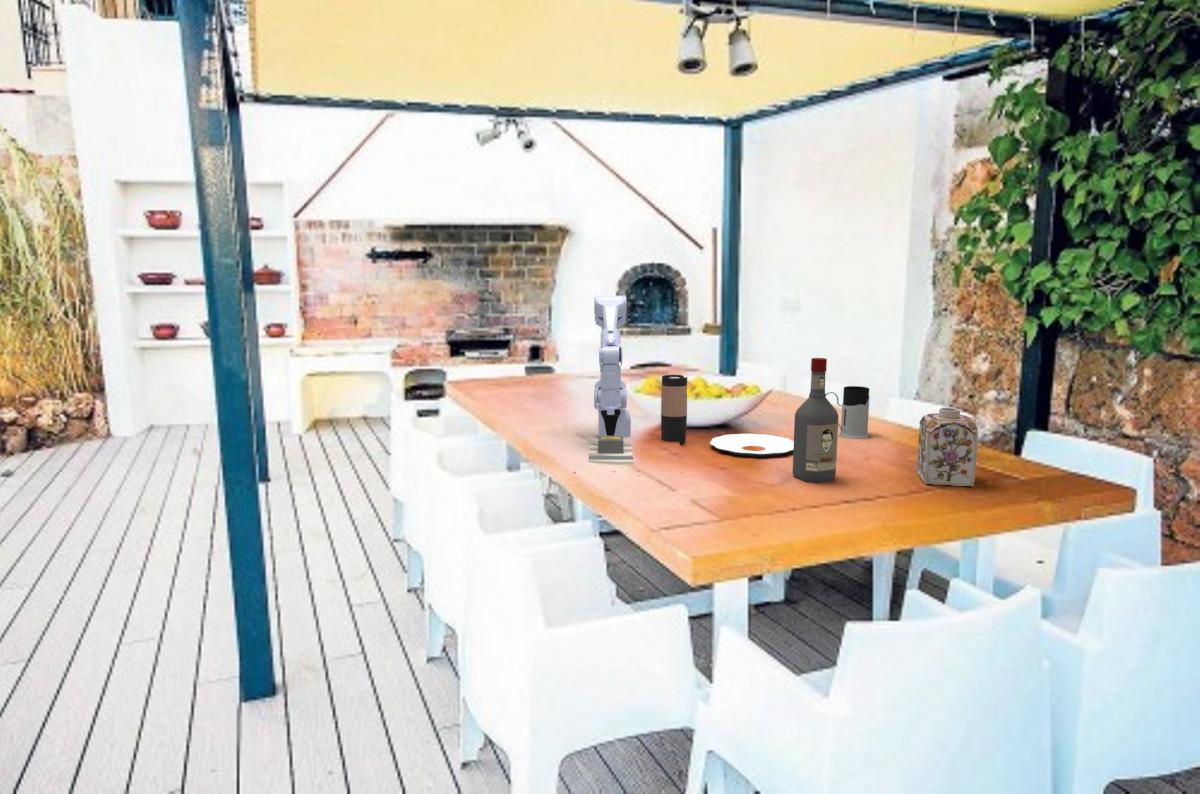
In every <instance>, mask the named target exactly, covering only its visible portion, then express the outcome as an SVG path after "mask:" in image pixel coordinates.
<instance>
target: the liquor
mask: <svg viewBox="0 0 1200 794" xmlns="http://www.w3.org/2000/svg"><path fill="white" fill-rule="evenodd" d="M810 360H811V361H810V363H811V364H810V372H811V375H810V376H811V378H810V389H809V390H810V392H809V394H808V398H807V399H806V400H805V401H804V402H803V403H802V404H800V406H799V407H798V408H797V409H796V410H795V414H794V428H793V441H794V448H793V451H792V452H793V454H792V475H793V478H796V479H799V480H801V481H804V482H805V483H816V484H817V483H825V482H832V481H833V480H834V478H835V476H836V475H837V453H838V452H837V451H838V436H839V433H838V431H839V425H838V424H839V416H840V415H839V414H838V410H837V409H836V408H835V407H834V406H833V404H832V403H831V402H830V401H829V399H828V398H827V397H826V396H827V395H826V394H827V393H826V374H827V363H828V359H827V358H824V357H813V358H812V357H811V359H810Z"/></svg>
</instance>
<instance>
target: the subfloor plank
mask: <svg viewBox="0 0 1200 794" xmlns="http://www.w3.org/2000/svg"><path fill="white" fill-rule="evenodd" d="M588 448H589V449H588V457H589V456H633V457H634V454H633V448H632V443H623V453H598V443H589V447H588ZM587 460H588V459H587ZM587 464H588V465H589V466H634V465H635V462H634V459H633V460H588V462H587Z"/></svg>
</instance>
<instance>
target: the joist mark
mask: <svg viewBox="0 0 1200 794" xmlns="http://www.w3.org/2000/svg"><path fill="white" fill-rule="evenodd" d="M587 460H634V455H633V456H589V455H588V459H587Z"/></svg>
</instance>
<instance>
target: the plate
mask: <svg viewBox="0 0 1200 794" xmlns="http://www.w3.org/2000/svg"><path fill="white" fill-rule="evenodd" d="M709 445H710V446H712V447H713V448H716V449H717V450H720V451H722V452H725V453H727V454H732V455H737V456H743V457H744V456H745V457H760V458H761V457H775V456H781V455H784V454H787V453H790V452H793V448H794V440H791V439H790V438H789V437H784V436H777V435H772V434H760V433H735V434H733V433H732V434H723V435H721V436H716V437H713V438H712V439H711V441H710V442H709ZM751 446H752V447H761V448H764V450H748V449H744V447H751Z"/></svg>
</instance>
